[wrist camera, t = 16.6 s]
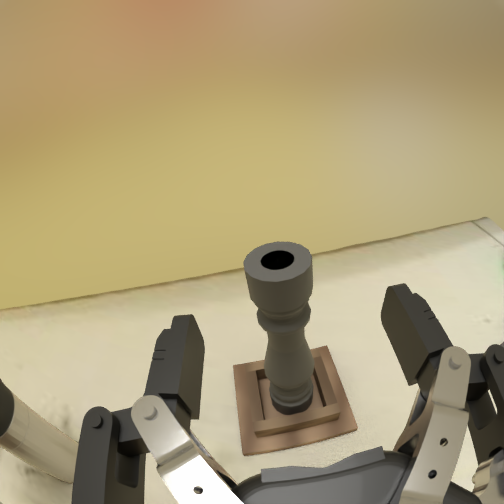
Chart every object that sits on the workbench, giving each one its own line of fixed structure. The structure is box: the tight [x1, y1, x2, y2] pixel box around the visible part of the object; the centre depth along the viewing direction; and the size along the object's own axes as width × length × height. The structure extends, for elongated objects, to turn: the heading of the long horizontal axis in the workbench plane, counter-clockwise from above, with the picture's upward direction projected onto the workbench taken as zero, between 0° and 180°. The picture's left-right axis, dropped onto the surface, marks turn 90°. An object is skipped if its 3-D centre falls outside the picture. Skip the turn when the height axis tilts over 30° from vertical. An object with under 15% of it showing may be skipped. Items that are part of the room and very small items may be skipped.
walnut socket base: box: [233, 346, 358, 456], centre depth 35 cm, size 16×16×4 cm
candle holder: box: [244, 242, 314, 415], centre depth 29 cm, size 6×6×25 cm
